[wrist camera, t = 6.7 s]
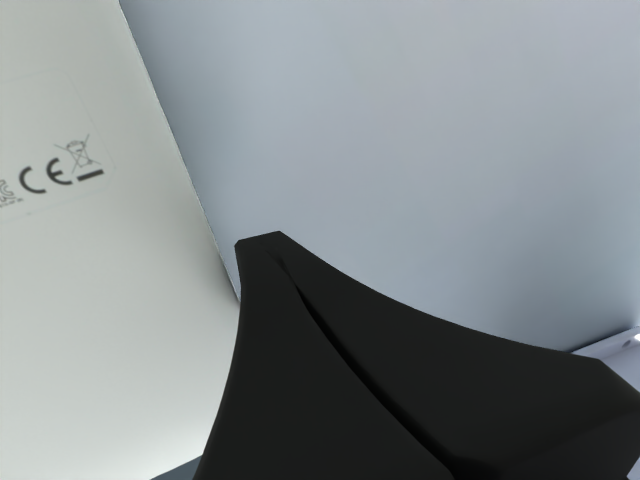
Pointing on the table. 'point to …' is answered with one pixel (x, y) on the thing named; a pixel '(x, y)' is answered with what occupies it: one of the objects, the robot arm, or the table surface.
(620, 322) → the table surface
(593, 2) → the table surface
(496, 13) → the table surface
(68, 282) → the hard drive
